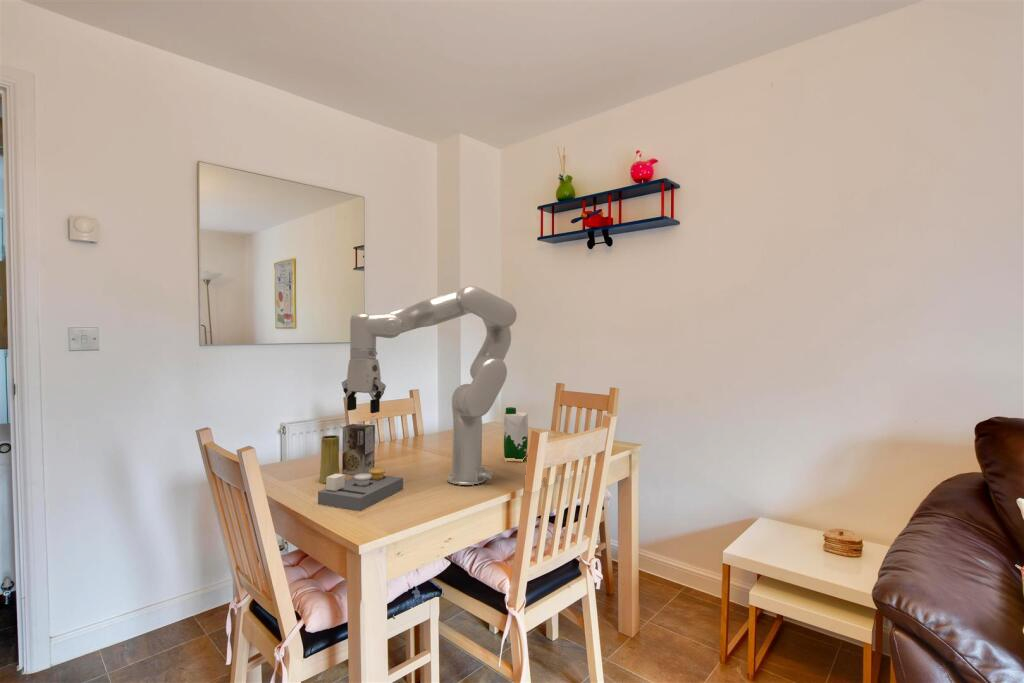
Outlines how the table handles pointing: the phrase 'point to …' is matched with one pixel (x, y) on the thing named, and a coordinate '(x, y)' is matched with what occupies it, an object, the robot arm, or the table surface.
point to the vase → (329, 457)
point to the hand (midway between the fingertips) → (363, 411)
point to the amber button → (377, 473)
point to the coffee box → (358, 448)
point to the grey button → (362, 479)
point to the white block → (335, 482)
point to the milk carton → (515, 434)
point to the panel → (360, 493)
